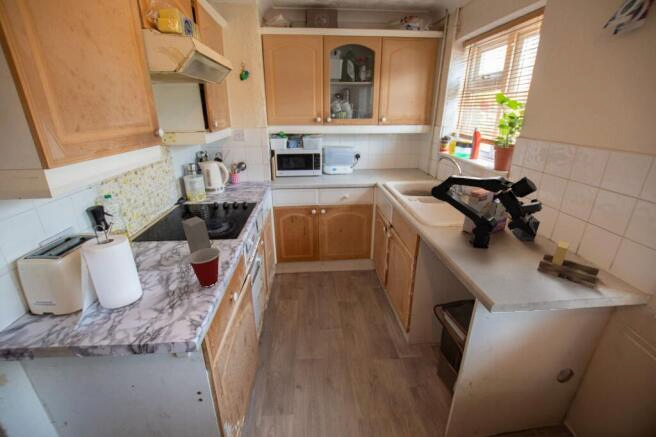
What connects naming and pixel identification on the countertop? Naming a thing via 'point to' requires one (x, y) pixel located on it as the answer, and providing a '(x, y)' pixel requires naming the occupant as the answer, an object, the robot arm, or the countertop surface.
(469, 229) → the cracker box
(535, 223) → the small box
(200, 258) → the plastic cup
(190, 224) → the skincare box
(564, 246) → the block
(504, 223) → the candy bar box
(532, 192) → the robot arm
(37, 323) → the countertop surface
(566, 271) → the board
